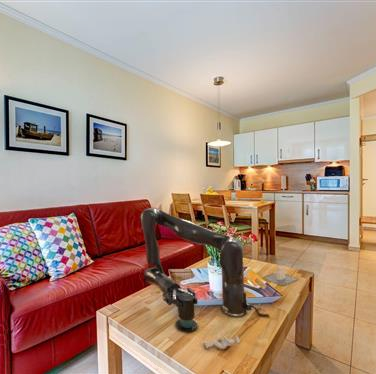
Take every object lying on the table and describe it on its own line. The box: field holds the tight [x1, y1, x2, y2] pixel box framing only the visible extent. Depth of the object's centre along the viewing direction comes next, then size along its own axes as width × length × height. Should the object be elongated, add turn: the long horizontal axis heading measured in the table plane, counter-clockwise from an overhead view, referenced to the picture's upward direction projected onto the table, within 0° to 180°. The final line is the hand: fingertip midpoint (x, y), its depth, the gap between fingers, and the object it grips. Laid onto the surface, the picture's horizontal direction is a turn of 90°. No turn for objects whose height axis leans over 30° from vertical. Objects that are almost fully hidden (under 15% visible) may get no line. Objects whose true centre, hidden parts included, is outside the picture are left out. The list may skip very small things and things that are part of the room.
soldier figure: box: [203, 333, 240, 350], centre depth 84 cm, size 8×5×12 cm
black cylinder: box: [177, 293, 196, 320], centre depth 97 cm, size 7×7×8 cm
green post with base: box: [175, 318, 198, 333], centre depth 97 cm, size 8×8×12 cm
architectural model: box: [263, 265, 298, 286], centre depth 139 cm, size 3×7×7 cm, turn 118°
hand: (188, 304), depth 95 cm, fingers closed on black cylinder, 7 cm apart
